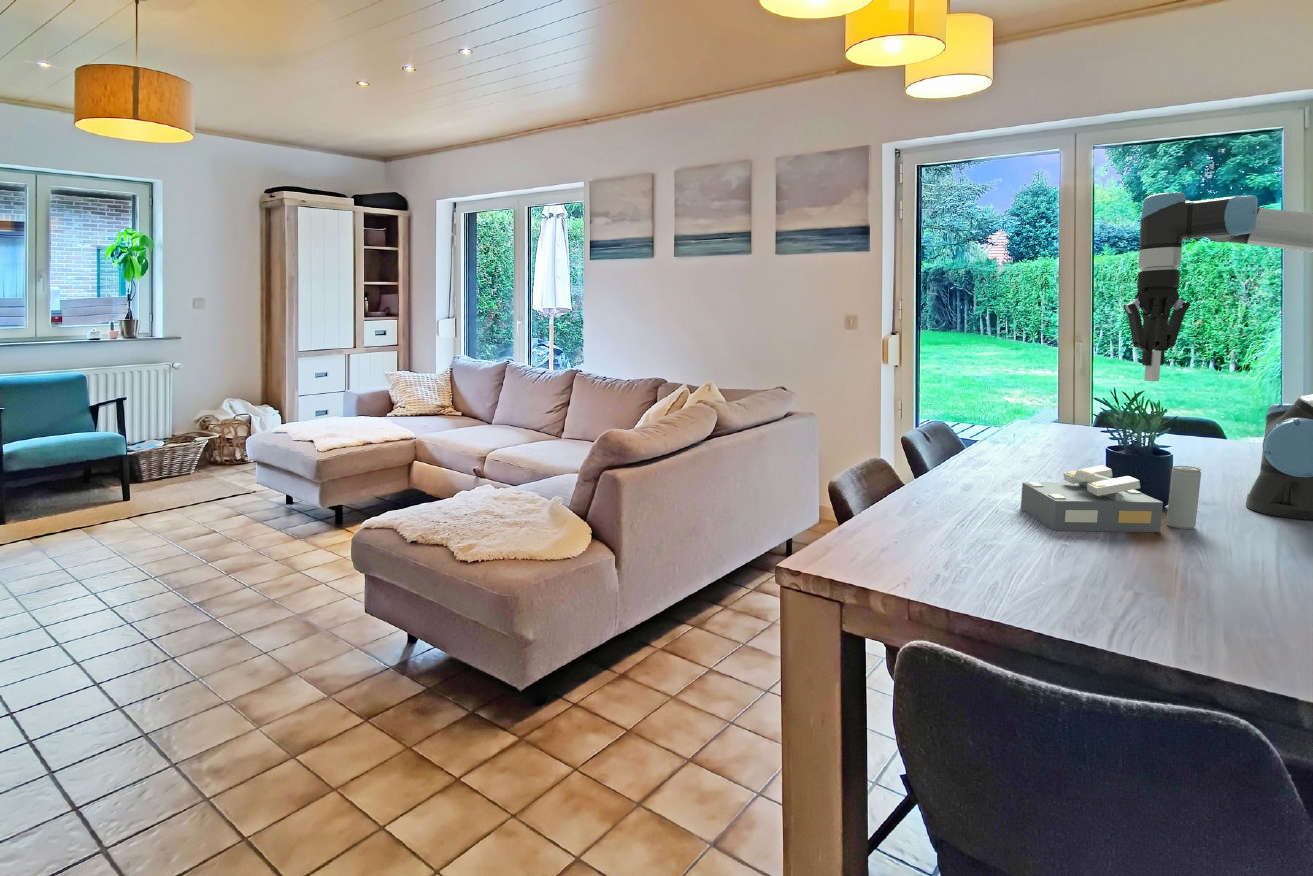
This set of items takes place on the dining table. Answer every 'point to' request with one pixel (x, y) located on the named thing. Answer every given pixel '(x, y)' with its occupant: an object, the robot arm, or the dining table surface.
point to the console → (1090, 508)
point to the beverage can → (1183, 497)
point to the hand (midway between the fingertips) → (1151, 380)
